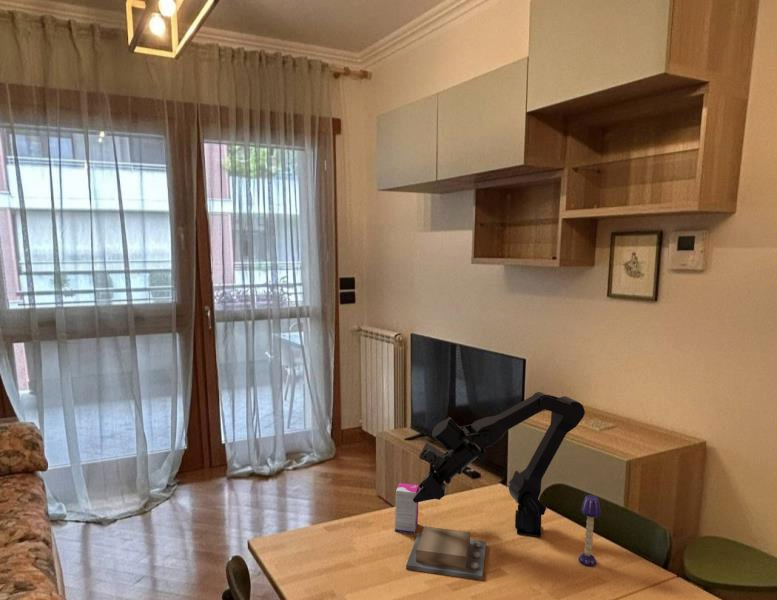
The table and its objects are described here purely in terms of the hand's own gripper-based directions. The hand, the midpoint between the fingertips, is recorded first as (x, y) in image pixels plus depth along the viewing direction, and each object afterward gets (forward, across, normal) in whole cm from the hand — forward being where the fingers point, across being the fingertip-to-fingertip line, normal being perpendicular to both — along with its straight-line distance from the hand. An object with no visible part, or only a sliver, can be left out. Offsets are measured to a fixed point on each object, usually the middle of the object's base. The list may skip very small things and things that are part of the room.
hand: (416, 494), depth 148 cm
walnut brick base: (0, +12, +14) cm, 18 cm away
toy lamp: (-24, +6, +38) cm, 46 cm away
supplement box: (+9, 0, +5) cm, 11 cm away
